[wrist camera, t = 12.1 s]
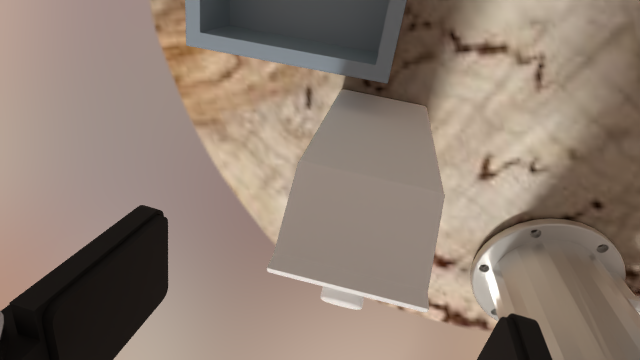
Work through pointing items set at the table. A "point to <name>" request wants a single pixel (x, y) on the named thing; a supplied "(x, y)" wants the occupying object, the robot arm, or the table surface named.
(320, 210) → the milk carton
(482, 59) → the table surface
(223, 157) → the table surface
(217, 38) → the tote
